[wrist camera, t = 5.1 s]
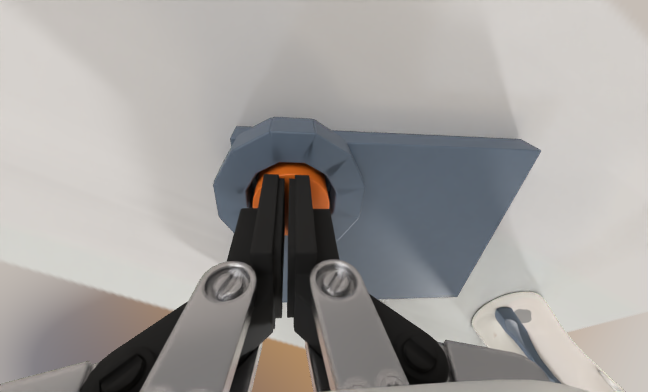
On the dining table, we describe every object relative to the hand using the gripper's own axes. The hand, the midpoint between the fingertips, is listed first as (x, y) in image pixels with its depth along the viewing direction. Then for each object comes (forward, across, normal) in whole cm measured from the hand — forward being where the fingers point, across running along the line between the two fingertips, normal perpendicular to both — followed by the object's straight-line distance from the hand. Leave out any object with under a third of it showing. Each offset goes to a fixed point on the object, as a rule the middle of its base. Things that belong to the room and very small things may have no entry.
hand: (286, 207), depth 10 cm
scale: (+3, -5, +4) cm, 7 cm away
